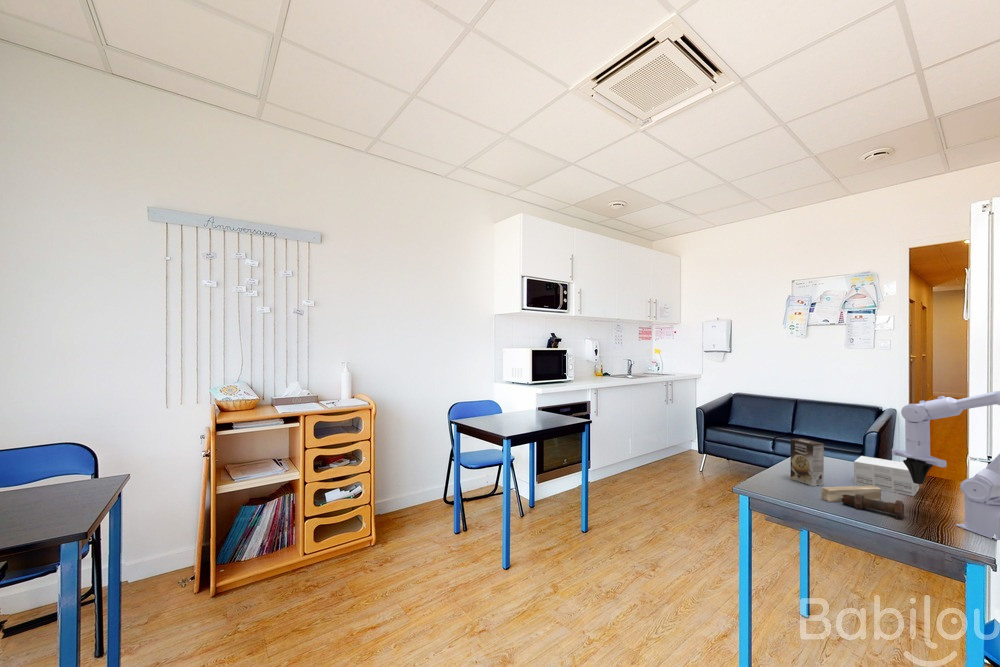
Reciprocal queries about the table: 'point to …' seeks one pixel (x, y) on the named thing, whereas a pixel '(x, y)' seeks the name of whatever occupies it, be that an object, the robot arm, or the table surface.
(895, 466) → the supplement box
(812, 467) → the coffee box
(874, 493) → the bar
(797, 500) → the table surface
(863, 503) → the bolt
